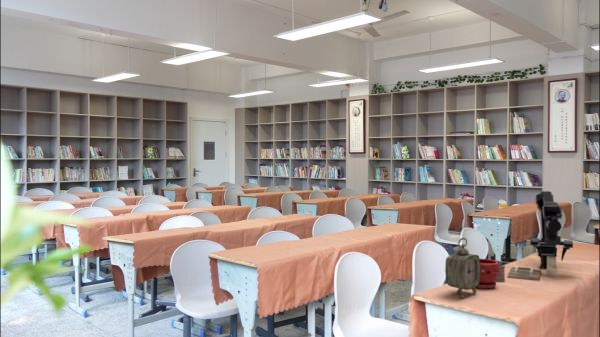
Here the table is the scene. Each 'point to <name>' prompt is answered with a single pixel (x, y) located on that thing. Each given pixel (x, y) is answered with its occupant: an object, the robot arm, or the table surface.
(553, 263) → the peg
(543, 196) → the robot arm
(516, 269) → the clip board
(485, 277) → the plant pot
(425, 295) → the table surface
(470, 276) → the tabletop clock
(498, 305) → the table surface
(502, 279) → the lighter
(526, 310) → the table surface
